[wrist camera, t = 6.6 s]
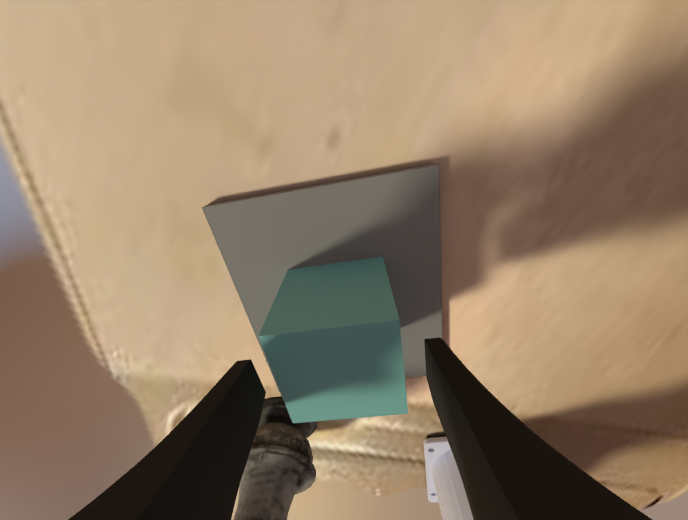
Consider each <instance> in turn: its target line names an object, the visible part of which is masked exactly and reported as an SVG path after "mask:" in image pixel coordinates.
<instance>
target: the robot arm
mask: <svg viewBox="0 0 688 520" xmlns="http://www.w3.org/2000/svg"><path fill="white" fill-rule="evenodd" d="M424 344H425V361H426V376H427V380H428V384H429V388H430V391H431V395H432V399H433V402H434V405H435V408H436V411H437V413H438V416H439V419H440V421H441V424H442V427H443V429H444V432H445V435H446V437H435V438H427V439H425V440H424V442H423V443H424V456H425V469H426V482H427V494H428V500H429V501H430V502H439V506H440V510H441V514H442V518H443V520H652V519H650V518H649V517H648V516H646V515H645V514H643V513H642V512H640V511H639V510H637V509H636V508H634V507H633V506H631V505H630V504H628V503H627V502H626V501H624V500H623V499H621V498H620V497H618V496H617V495H616V494H614V493H613V492H611V491H610V490H609V489H607V488H606V487H604V486H603V485H601V484H600V483H599V482H597V481H596V480H595V479H593V478H592V477H591V476H589V475H588V474H587V473H585V472H584V471H583V470H581V469H580V468H579V467H577V466H576V465H575V464H573V463H572V462H571V461H569V460H568V459H567V458H566V457H564V456H563V455H562V454H560V453H559V452H558V451H556V450H555V449H554V448H552V447H551V446H550V445H549V444H548V443H546V442H545V441H544V440H543V439H541V438H540V437H539V436H538V435H537V434H535V433H534V432H533V431H532V430H531V429H530V428H528V427H527V426H526V425H525V424H524V423H523V422H521V421H520V420H519V419H518V418H517V417H516V416H515V415H513V414H512V413H511V412H510V411H509V410H508V409H507V408H506V407H505V406H504V405H503V404H502V403H501V402H499V401H498V400H497V399H496V398H495V397H494V396H493V395H492V394H491V393H490V392H489V391H488V390H487V389H486V388H485V387H484V386H483V385H482V384H481V383H480V382H479V381H478V379H477V378H476V377H475V376H474V375H473V374H472V373H471V372H470V371H469V370H468V369H467V368H466V367H465V366H464V364H463V363H462V362H461V361H460V360H459V359H458V358H457V356H456V355H455V354H454V353H453V352H452V350H451V349H450V348H449V347H448V345H447V344H446V343H445V341H444V340H443V339H442V338H440V337H438V338H430V339H424ZM265 393H266V392H265V390H264V388H263V385H262V383H261V381H260V379H259V377H258V374H257V372H256V370H255V368H254V365H253V363H252V361H251V360H242V361H237V362H236V363H235V364H234V365H233V366H232V367H231V368H230V369H229V370H228V371H227V373H226V374H225V375H224V376H223V377H222V378H221V379H220V380H219V381H218V383H217V384H216V385H215V386H214V387H213V388H212V389H211V390H210V391H209V393H208V394H207V395H206V396H205V397H204V398H203V399H202V400H201V401H200V402H199V403H198V405H197V406H196V407H195V408H194V409H193V410H192V411H191V412H190V413H189V414H188V415H187V416H186V417H185V418H184V419H183V420H182V421H181V422H180V423H179V424H178V425H177V426H176V427H175V428H174V429H173V430H172V431H171V432H170V434H168V435H167V436H166V437H165V438H164V439H163V440H162V441H161V442H160V443H159V444H158V445H157V446H156V447H155V448H154V449H153V450H152V451H151V452H149V453H148V454H147V455H146V456H145V457H144V458H143V459H142V460H141V461H140V462H138V463H137V465H135V466H134V467H133V468H132V469H130V470H129V471H128V472H127V473H126V474H125V475H123V476H122V477H121V478H120V479H119V480H117V481H116V482H115V483H114V484H113V485H111V486H110V487H109V488H108V489H107V490H105V491H104V492H103V493H102V494H101V495H99V496H98V497H97V498H96V499H95V500H93V501H92V502H91V503H89V504H88V505H87V506H85V507H84V508H83V509H82V510H81V511H79V512H78V513H76V514H75V515H74V516H73V517H71V518H70V519H69V520H231V517H232V513H233V508H234V504H235V499H236V496H237V492H238V489H239V485H240V482H241V479H242V475H243V472H244V469H245V466H246V463H247V460H248V457H249V454H250V451H251V447H252V444H253V441H254V438H255V435H256V432H257V428H258V425H259V422H260V419H261V414H262V409H263V404H264V399H265Z"/></svg>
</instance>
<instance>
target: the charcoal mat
mask: <svg viewBox="0 0 688 520" xmlns="http://www.w3.org/2000/svg"><path fill="white" fill-rule="evenodd" d="M202 209H203V211H204V214H205V216H206V218H207V221H208V223H209V226H210V228H211V230H212V233H213V235H214V237H215V240H216V242H217V245H218V247H219V249H220V252H221V254H222V256H223V259H224V261H225V264H226V266H227V268H228V271H229V273H230V275H231V278H232V280H233V283H234V285H235V287H236V290H237V292H238V294H239V297H240V299H241V301H242V304H243V306H244V309H245V311H246V313H247V316H248V318H249V320H250V323H251V325H252V328H253V330H254V332H255V335H256V337H257V339H258V342H259V344H260V347H261V349H262V351H263V354H264V356H265V358H266V355H265V353H264V350H263V348H262V345H261V343H260V340H259V338H258V336H259V333H260V331H261V329H262V326H263V324H264V322H265V320H266V317H267V315H268V313H269V311H270V308H271V306H272V304H273V302H274V299H275V297H276V295H277V293H278V290H279V288H280V286H281V284H282V281H283V279H284V277H285V275H286V272H287V270H289V269H296V268H303V267H310V266H317V265H325V264H332V263H339V262H346V261H353V260H361V259H368V258H375V257H382V256H383V259H384V263H385V267H386V270H387V274H388V278H389V282H390V286H391V289H392V293H393V297H394V301H395V305H396V308H397V312H398V316H399V320H400V330H401V341H402V352H403V363H404V374H405V378H411V377H420V376H426V361H425V344H424V339H430V338H438V337H440V338H442V302H441V247H440V192H439V165H438V164H429V165H424V166H418V167H413V168H407V169H402V170H396V171H390V172H385V173H379V174H374V175H368V176H363V177H357V178H352V179H346V180H341V181H335V182H330V183H324V184H318V185H313V186H307V187H302V188H296V189H291V190H285V191H280V192H274V193H269V194H263V195H258V196H252V197H246V198H241V199H235V200H230V201H224V202H219V203H213V204H208V205H206V206H204V207H202ZM266 361H267V363H268V360H267V358H266ZM268 366H269V368H270V365H269V363H268ZM270 370H271V368H270ZM271 373H272V370H271ZM272 375H273V373H272ZM273 377H274V375H273ZM274 380H275V378H274ZM275 382H276V380H275ZM276 385H277V383H276ZM277 387H278V385H277ZM278 389H279V388H278ZM279 391H280V390H279Z"/></svg>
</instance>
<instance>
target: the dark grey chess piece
mask: <svg viewBox="0 0 688 520" xmlns="http://www.w3.org/2000/svg"><path fill="white" fill-rule="evenodd" d="M316 428H317V421H315V422H303V423H292V420H291V418H290V415H289V413H288V410H287V408H286V405H285V403H284V400H283V398H282V397H277V398H269V399H265V400H264V404H263V409H262V414H261V419H260V422H259V425H258V428H257V432H256V435H255V438H254V441H253V444H252V447H251V451H250V454H249V457H248V460H247V463H246V466H245V469H244V472H243V475H242V479H241V482H240V485H239V487H240V491H239V501H238V507H237V510H236V513H235V517H234V520H287V515H288V511H289V508H290V505H291V502H292V499H293V497H294V495H295V494H298V493H301V492H303V491H305V490H306V489H308V488H309V487H310V486H311V485H312V484H313V483H314V481H315V478H316V470H315V467H314V465H313V464H312V462H313V456H312V452H311V447H310V444H309V441H308V440H307V439H306V438H307V437H309V436H310V435H311V434H312V433H313V432H314V431H315V429H316Z"/></svg>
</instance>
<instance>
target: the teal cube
mask: <svg viewBox="0 0 688 520" xmlns="http://www.w3.org/2000/svg"><path fill="white" fill-rule="evenodd" d="M258 338H259V340H260V343H261V345H262V348H263V350H264V353H265V355H266V358H267V360H268V363H269V365H270V368H271V370H272V373H273V375H274V378H275V380H276V383H277V385H278V388H279V390H280V393H281V395H282V398H283V400H284V403H285V405H286V408H287V410H288V413H289V415H290V418H291V420H292V423H303V422H315V421H327V420H338V419H350V418H362V417H373V416H385V415H397V414H408V408H407V397H406V386H405V374H404V363H403V352H402V341H401V330H400V320H399V316H398V312H397V308H396V305H395V301H394V297H393V293H392V289H391V286H390V282H389V278H388V274H387V270H386V267H385V263H384V259H383V256H382V257H375V258H368V259H361V260H353V261H346V262H339V263H332V264H325V265H317V266H310V267H303V268H296V269H289V270H287V272H286V275H285V277H284V279H283V281H282V284H281V286H280V288H279V290H278V293H277V295H276V297H275V299H274V302H273V304H272V306H271V308H270V311H269V313H268V315H267V317H266V320H265V322H264V324H263V326H262V329H261V331H260V333H259V336H258Z"/></svg>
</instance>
